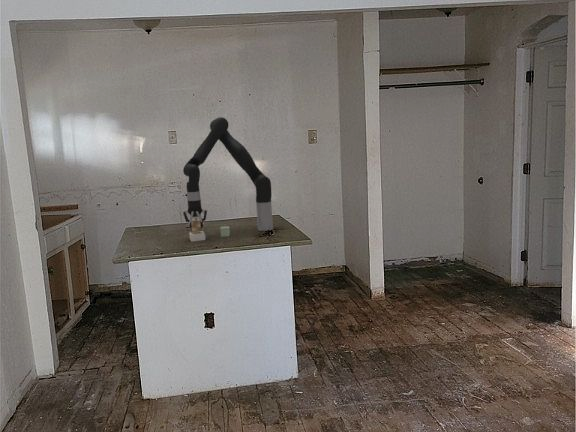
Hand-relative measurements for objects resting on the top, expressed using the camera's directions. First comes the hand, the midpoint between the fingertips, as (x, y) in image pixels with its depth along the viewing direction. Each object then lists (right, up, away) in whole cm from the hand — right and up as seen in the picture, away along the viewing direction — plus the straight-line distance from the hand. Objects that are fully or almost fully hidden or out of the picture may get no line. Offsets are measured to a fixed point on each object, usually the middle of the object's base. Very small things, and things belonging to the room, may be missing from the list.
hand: (196, 228), depth 298 cm
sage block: (+16, -5, +7) cm, 18 cm away
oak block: (0, -1, 0) cm, 1 cm away
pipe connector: (-3, -3, +21) cm, 21 cm away
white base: (0, -7, +1) cm, 7 cm away
